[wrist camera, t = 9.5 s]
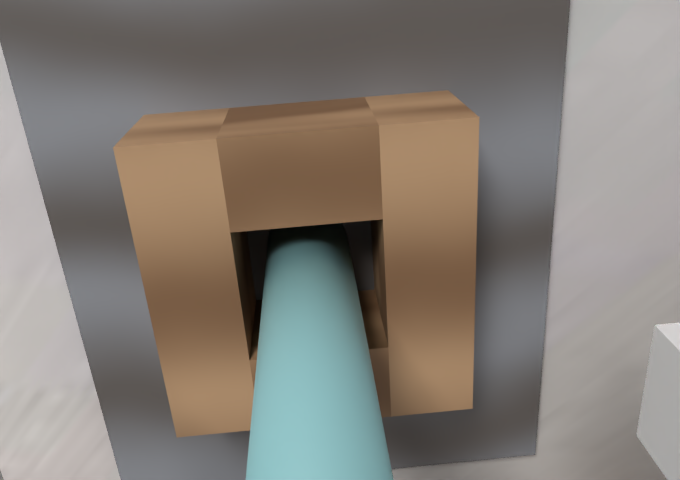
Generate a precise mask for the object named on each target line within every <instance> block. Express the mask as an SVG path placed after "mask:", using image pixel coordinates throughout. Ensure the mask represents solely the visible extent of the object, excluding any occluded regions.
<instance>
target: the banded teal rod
mask: <svg viewBox="0 0 680 480" xmlns="http://www.w3.org/2000/svg"><path fill="white" fill-rule="evenodd" d="M246 480H393V475H392V470H391V464H390V459H389V454H388V448H387V443H386V438H385V433H384V427H383V422H382V417H381V412H380V406H379V401H378V396H377V390H376V385H375V380H374V375H373V369H372V364H371V359H370V354H369V348H368V343H367V338H366V332H365V327H364V322H363V317H362V311H361V306H360V301H359V296H358V290H357V285H356V280H355V274H354V269H353V264H352V259H351V253H350V248H349V243H348V238H347V233H346V230H345V228H344V226H343V225H342V223H334V224H323V225H312V226H300V227H289V228H277V229H271V230H270V233H269V236H268V245H267V256H266V266H265V277H264V288H263V299H262V309H261V320H260V331H259V341H258V352H257V363H256V374H255V384H254V395H253V406H252V416H251V427H250V438H249V448H248V459H247V470H246Z"/></svg>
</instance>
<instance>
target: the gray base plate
mask: <svg viewBox="0 0 680 480" xmlns="http://www.w3.org/2000/svg"><path fill="white" fill-rule="evenodd" d="M569 7H570V0H0V43H1V46H2V50H3V54H4V57H5V61H6V64H7V68H8V72H9V75H10V79H11V83H12V86H13V90H14V94H15V97H16V101H17V104H18V108H19V112H20V115H21V119H22V123H23V126H24V130H25V133H26V137H27V141H28V144H29V148H30V152H31V155H32V159H33V162H34V166H35V170H36V173H37V177H38V181H39V184H40V188H41V191H42V195H43V199H44V202H45V206H46V210H47V213H48V217H49V221H50V224H51V228H52V231H53V235H54V239H55V242H56V246H57V250H58V253H59V257H60V260H61V264H62V268H63V271H64V275H65V279H66V282H67V286H68V289H69V293H70V297H71V300H72V304H73V308H74V311H75V315H76V319H77V322H78V326H79V329H80V333H81V337H82V340H83V344H84V348H85V351H86V355H87V358H88V362H89V366H90V369H91V373H92V377H93V380H94V384H95V387H96V391H97V395H98V398H99V402H100V406H101V409H102V413H103V416H104V420H105V424H106V427H107V431H108V435H109V438H110V442H111V446H112V449H113V453H114V456H115V460H116V464H117V467H118V471H119V475H120V478H121V480H246V470H247V459H248V448H249V438H250V427H251V416H252V406H253V395H254V384H255V374H256V363H257V352H258V341H259V331H260V320H261V309H262V299H263V288H264V277H265V266H266V256H267V245H268V236H269V233H270V230H271V229H277V228H289V227H300V226H312V225H323V224H334V223H342V225H343V226H344V228H345V230H346V233H347V238H348V243H349V248H350V253H351V259H352V264H353V269H354V274H355V280H356V285H357V290H358V296H359V301H360V306H361V311H362V317H363V322H364V327H365V332H366V338H367V343H368V348H369V354H370V359H371V364H372V369H373V375H374V380H375V385H376V390H377V396H378V401H379V406H380V412H381V417H382V422H383V427H384V433H385V438H386V443H387V448H388V454H389V459H390V464H391V469H395V468H405V467H415V466H425V465H435V464H445V463H455V462H465V461H475V460H485V459H495V458H505V457H515V456H525V455H535V451H536V437H537V424H538V411H539V398H540V385H541V372H542V359H543V346H544V333H545V320H546V307H547V294H548V281H549V268H550V255H551V242H552V229H553V216H554V203H555V190H556V177H557V164H558V151H559V138H560V125H561V112H562V99H563V86H564V73H565V60H566V46H567V33H568V20H569Z"/></svg>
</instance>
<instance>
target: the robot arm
mask: <svg viewBox="0 0 680 480" xmlns="http://www.w3.org/2000/svg"><path fill="white" fill-rule="evenodd" d="M636 436H637V437H638V439H639V440H640V441H641V443H642V444H643V446H644V447H645V449H646V450H647V451H648V453H649V454H650V456H651V457H652V459H653V460H654V461H655V463H656V464H657V466H658V467H659V469H660V470H661V471H662V473H663V474H664V476H665V477H666V478H667V480H680V323H670V324H659V325H655V326H654V332H653V338H652V344H651V350H650V356H649V362H648V368H647V374H646V380H645V386H644V392H643V398H642V404H641V410H640V416H639V422H638V428H637V434H636ZM0 480H4V479H3V477H2V474H1V471H0Z"/></svg>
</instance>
